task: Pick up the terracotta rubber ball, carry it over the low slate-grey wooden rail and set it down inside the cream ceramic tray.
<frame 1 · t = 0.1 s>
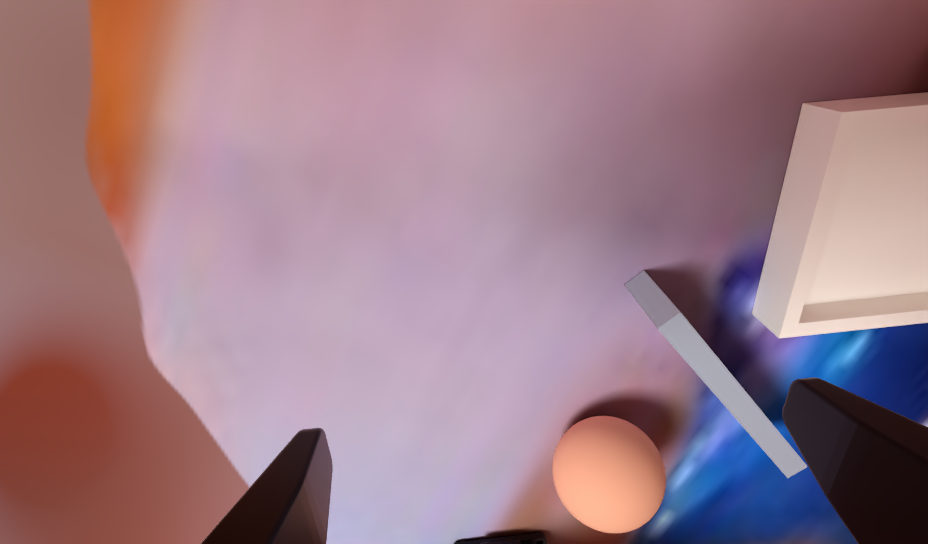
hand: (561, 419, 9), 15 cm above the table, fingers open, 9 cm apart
tray: (882, 209, 24), on the table
ball: (590, 431, 30), on the table
rail: (699, 355, 28), on the table
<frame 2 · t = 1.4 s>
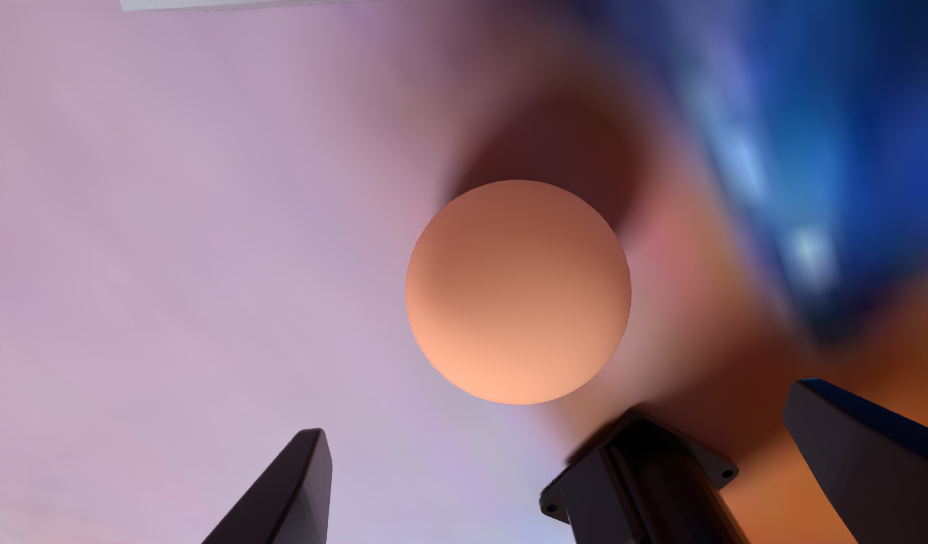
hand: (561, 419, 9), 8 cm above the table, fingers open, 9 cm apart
ball: (499, 245, 16), on the table
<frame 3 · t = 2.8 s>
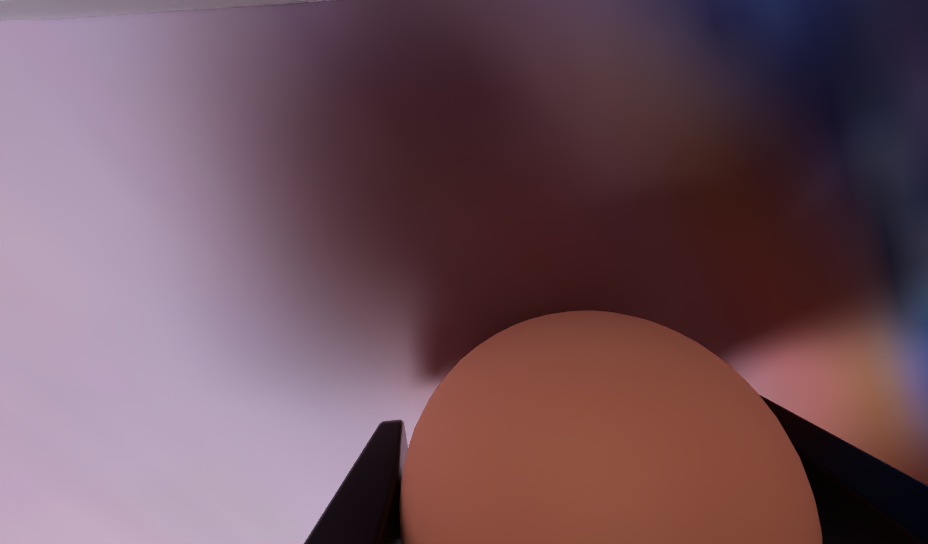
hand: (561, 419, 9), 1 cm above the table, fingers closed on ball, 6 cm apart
ball: (546, 377, 10), on the table, touching gripper
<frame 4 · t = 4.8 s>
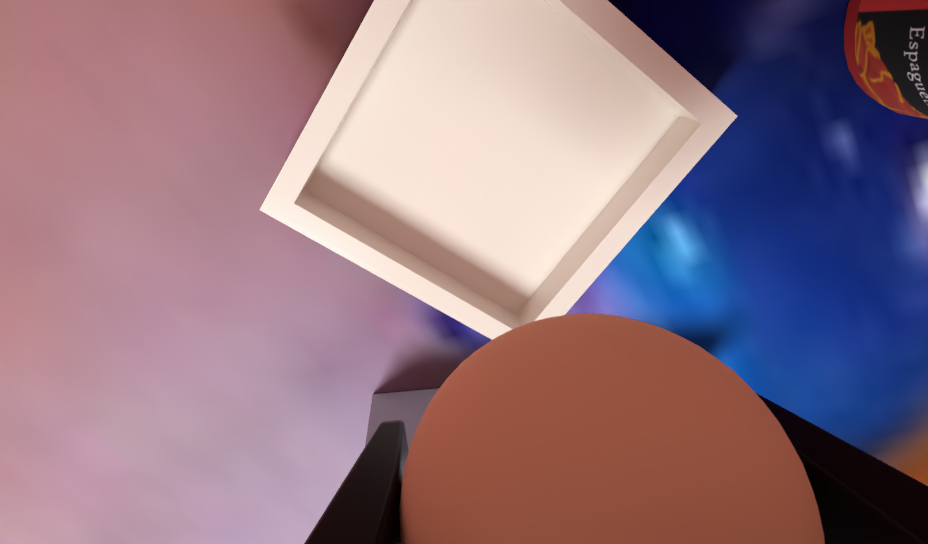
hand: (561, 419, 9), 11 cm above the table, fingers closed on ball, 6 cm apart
tray: (488, 148, 18), on the table
ball: (547, 380, 10), point 10 cm above the table, touching gripper
rail: (526, 390, 23), on the table
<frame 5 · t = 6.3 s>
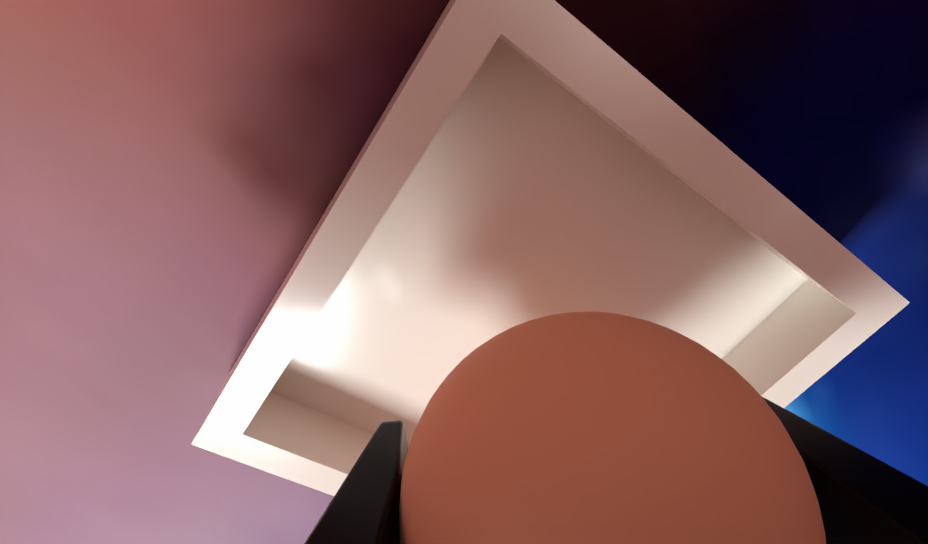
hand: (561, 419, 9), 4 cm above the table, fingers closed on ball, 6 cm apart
tray: (526, 315, 13), on the table
ball: (547, 378, 10), point 2 cm above the table, touching gripper
when the fingers open (3 cm above the table, at t = 7.1 s): ball drops 2 cm, resting on tray.
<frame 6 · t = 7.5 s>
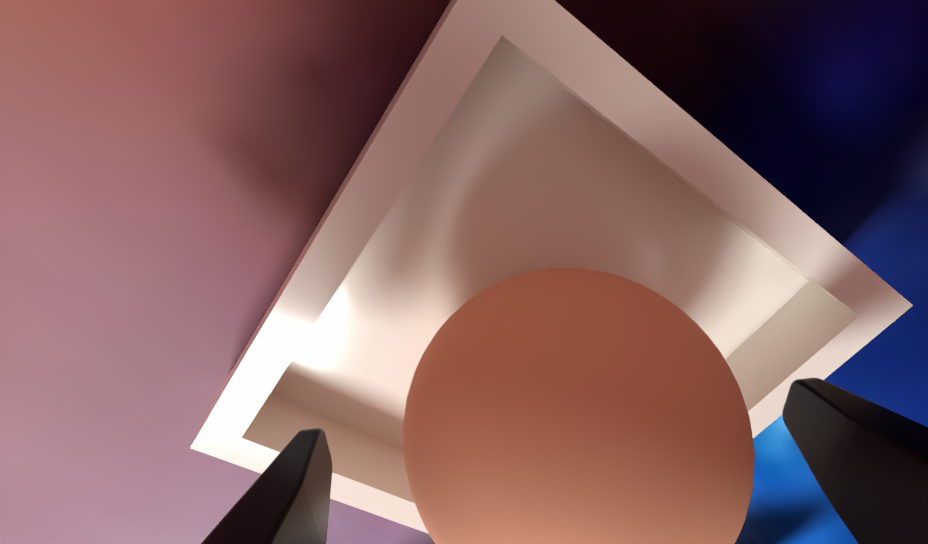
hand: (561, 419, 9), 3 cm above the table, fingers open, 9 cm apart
tray: (526, 318, 12), on the table
ball: (532, 336, 12), point 1 cm above the table, touching tray
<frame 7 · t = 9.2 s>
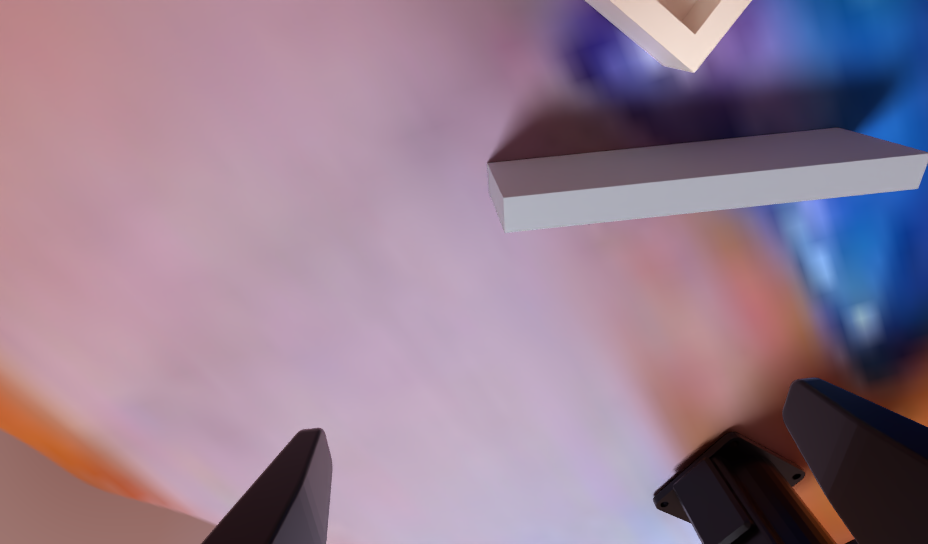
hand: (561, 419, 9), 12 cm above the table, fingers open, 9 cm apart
rail: (663, 160, 20), on the table
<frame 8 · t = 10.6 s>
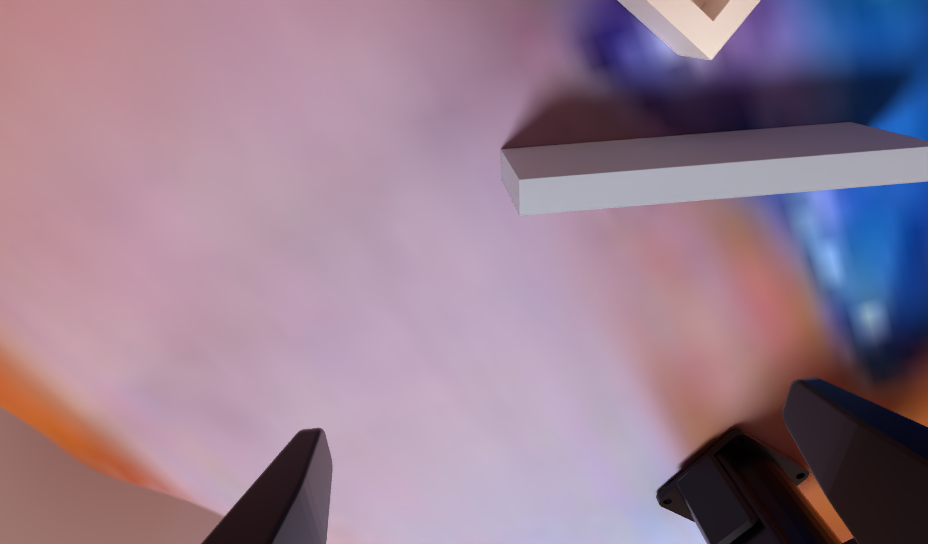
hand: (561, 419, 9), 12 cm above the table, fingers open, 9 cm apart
rail: (676, 150, 20), on the table
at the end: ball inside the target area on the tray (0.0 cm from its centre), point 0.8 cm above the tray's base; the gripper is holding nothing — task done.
